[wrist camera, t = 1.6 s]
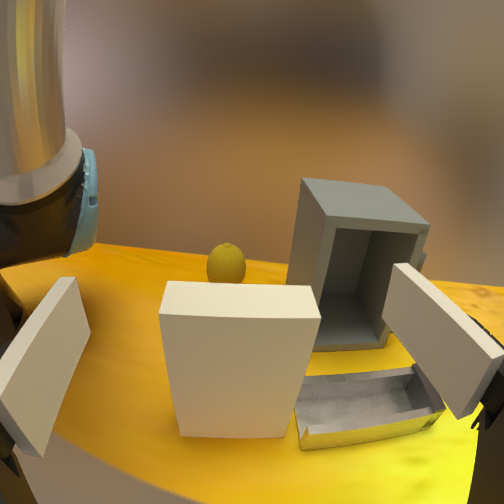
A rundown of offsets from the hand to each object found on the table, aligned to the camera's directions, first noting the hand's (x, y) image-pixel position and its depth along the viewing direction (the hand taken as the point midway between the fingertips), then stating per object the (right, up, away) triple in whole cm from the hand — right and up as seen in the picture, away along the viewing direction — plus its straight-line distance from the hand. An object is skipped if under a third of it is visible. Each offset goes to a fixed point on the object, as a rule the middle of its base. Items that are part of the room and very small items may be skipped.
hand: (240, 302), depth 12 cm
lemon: (-3, -4, +35) cm, 36 cm away
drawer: (+12, -16, +17) cm, 26 cm away
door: (-1, -15, +16) cm, 22 cm away
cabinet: (+12, -8, +31) cm, 34 cm away
